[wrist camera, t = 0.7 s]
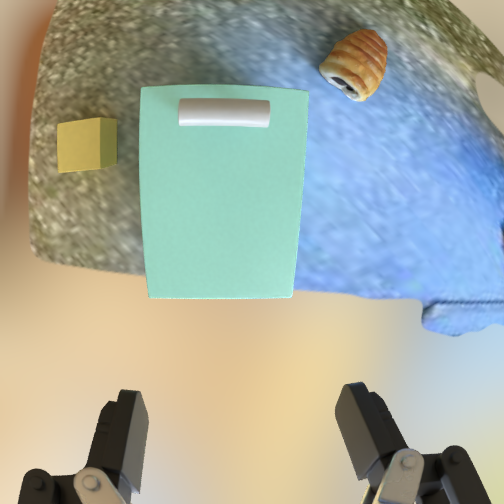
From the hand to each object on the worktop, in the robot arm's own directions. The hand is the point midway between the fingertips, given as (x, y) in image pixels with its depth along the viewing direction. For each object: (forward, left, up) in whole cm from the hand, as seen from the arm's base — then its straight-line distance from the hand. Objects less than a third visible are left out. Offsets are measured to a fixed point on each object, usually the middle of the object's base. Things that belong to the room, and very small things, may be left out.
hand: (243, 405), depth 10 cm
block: (-10, -15, -24) cm, 30 cm away
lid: (-5, -1, -16) cm, 16 cm away
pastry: (-20, +13, -25) cm, 34 cm away
